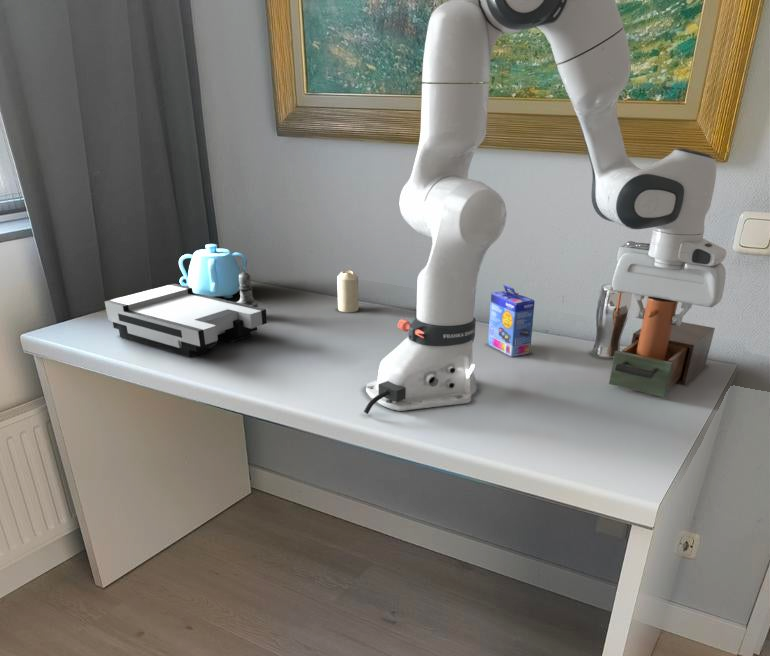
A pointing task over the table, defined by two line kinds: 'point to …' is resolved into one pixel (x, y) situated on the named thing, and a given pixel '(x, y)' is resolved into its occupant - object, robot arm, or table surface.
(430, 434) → the table surface
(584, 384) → the table surface
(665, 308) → the orange mug
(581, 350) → the table surface
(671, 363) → the drawer
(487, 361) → the table surface
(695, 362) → the cabinet
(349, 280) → the candle
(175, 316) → the game console
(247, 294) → the salt shaker
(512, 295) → the ink cartridge box
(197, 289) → the decorative pot
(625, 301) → the beer glass
